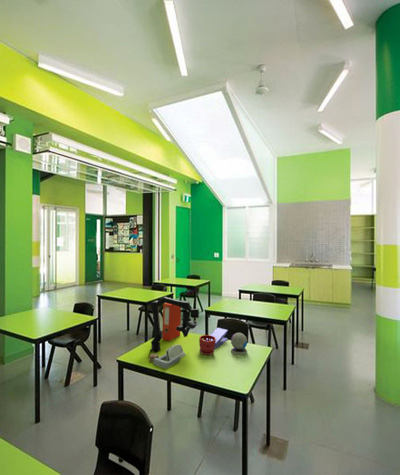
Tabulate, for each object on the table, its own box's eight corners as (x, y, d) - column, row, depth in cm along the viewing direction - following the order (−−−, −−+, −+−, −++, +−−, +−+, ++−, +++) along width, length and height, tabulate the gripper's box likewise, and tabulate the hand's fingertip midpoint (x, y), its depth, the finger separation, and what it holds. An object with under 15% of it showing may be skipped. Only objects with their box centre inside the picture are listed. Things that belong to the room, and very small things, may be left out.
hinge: (171, 362, 198) (168, 348, 200) (167, 363, 200) (164, 349, 202) (185, 355, 212) (182, 342, 214) (181, 355, 214) (178, 342, 216)
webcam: (236, 347, 230) (237, 329, 230) (250, 351, 221) (250, 333, 221) (227, 351, 220) (228, 333, 220) (241, 356, 212) (241, 337, 212)
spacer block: (149, 361, 199) (149, 356, 199) (152, 358, 204) (152, 353, 204) (155, 362, 198) (155, 357, 198) (158, 359, 203) (158, 354, 203)
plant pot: (196, 354, 213) (197, 339, 213) (202, 348, 225) (202, 333, 226) (212, 357, 209) (213, 341, 209) (217, 350, 221) (217, 336, 221)
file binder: (180, 335, 254) (181, 301, 254) (169, 341, 239) (170, 305, 239) (173, 333, 258) (174, 300, 258) (162, 339, 243) (163, 303, 243)
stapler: (228, 340, 246) (228, 329, 246) (213, 350, 222) (214, 338, 222) (217, 337, 252) (217, 326, 252) (201, 347, 228) (202, 335, 228)
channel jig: (153, 364, 195) (153, 358, 195) (167, 356, 208) (168, 351, 208) (166, 368, 188) (166, 363, 188) (179, 360, 202) (179, 355, 202)
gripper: (187, 322, 206) (187, 342, 205) (200, 316, 221) (200, 335, 221) (176, 319, 212) (175, 339, 211) (189, 314, 227) (189, 332, 227)
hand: (185, 336), depth 218 cm, fingers closed
